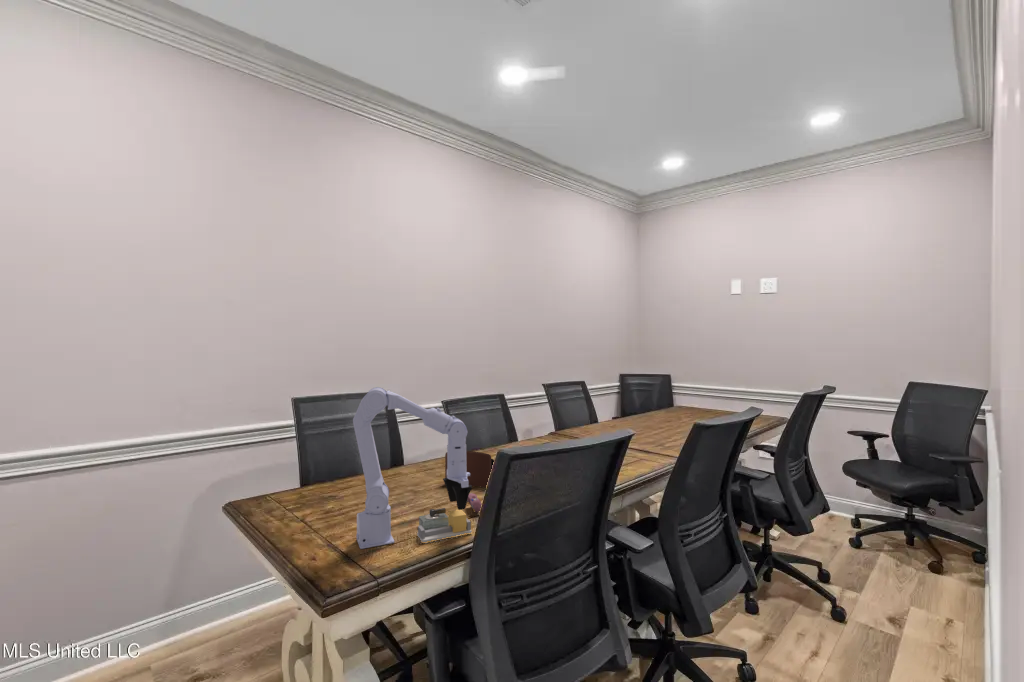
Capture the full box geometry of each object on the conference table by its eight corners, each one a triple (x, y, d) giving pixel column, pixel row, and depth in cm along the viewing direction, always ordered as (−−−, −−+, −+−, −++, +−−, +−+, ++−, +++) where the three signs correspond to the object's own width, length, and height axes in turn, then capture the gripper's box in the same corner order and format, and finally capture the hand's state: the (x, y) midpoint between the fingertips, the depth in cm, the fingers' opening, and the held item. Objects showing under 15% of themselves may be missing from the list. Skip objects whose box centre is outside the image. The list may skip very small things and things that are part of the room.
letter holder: (491, 488, 184) (490, 452, 184) (444, 484, 190) (444, 450, 190) (498, 481, 194) (498, 447, 194) (454, 477, 199) (454, 444, 199)
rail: (422, 544, 134) (422, 532, 134) (417, 536, 139) (417, 524, 139) (471, 534, 140) (471, 522, 140) (465, 527, 146) (465, 516, 146)
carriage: (453, 533, 138) (453, 516, 138) (448, 527, 143) (448, 511, 143) (466, 530, 140) (466, 514, 140) (461, 524, 144) (460, 509, 144)
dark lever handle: (430, 516, 145) (430, 511, 145) (429, 514, 147) (428, 509, 147) (445, 513, 147) (445, 508, 147) (444, 512, 149) (444, 507, 149)
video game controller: (470, 510, 164) (461, 493, 163) (481, 503, 166) (472, 486, 165) (478, 520, 155) (468, 502, 154) (490, 512, 157) (480, 495, 155)
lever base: (423, 531, 142) (423, 520, 142) (419, 525, 147) (419, 515, 147) (448, 526, 146) (448, 516, 146) (443, 521, 150) (443, 511, 150)
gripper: (478, 463, 137) (478, 510, 137) (461, 453, 150) (461, 495, 150) (454, 466, 134) (455, 514, 134) (440, 455, 147) (440, 499, 147)
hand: (457, 505), depth 141 cm, fingers open, 7 cm apart
